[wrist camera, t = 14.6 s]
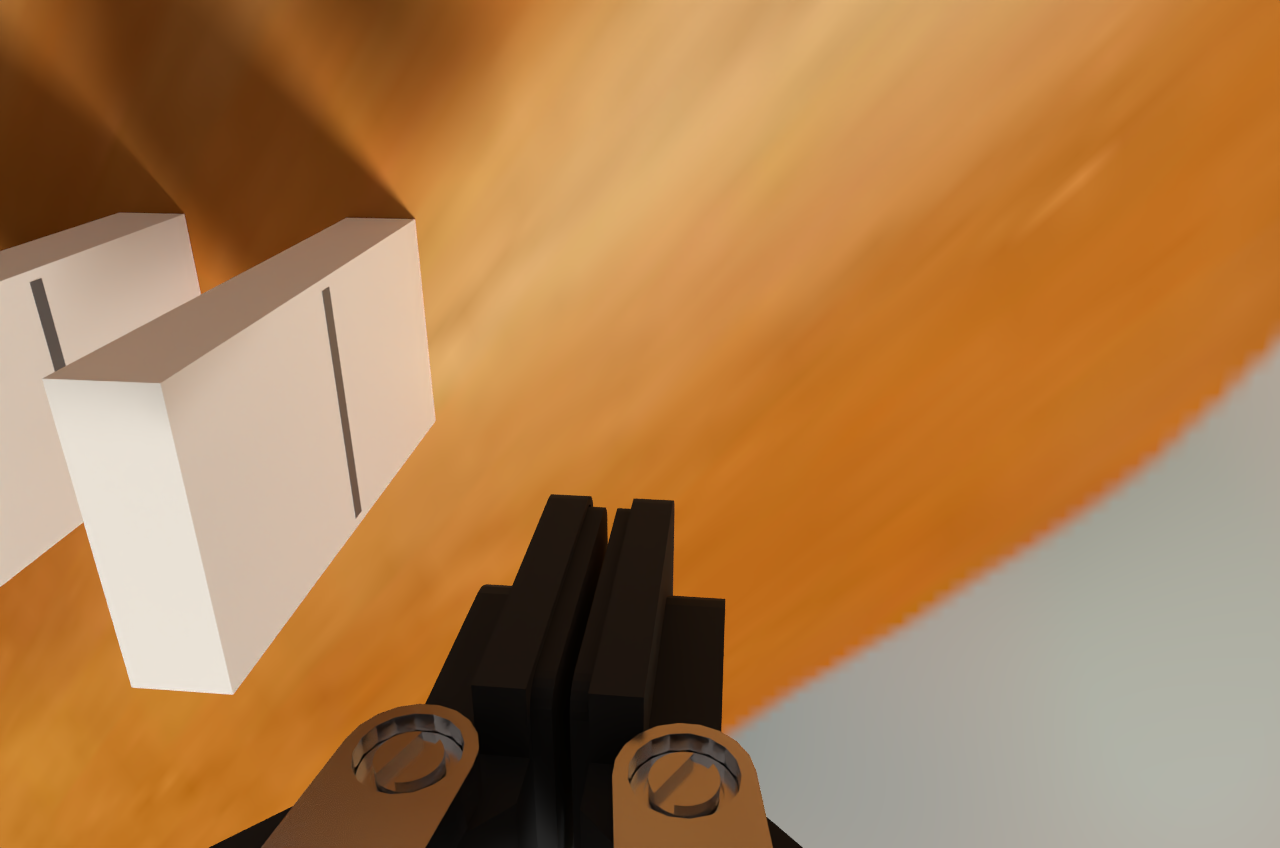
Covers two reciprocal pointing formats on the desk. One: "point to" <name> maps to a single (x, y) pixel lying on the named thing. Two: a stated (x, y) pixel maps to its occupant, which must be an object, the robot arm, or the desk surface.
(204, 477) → the domino
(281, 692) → the desk surface
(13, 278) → the domino
